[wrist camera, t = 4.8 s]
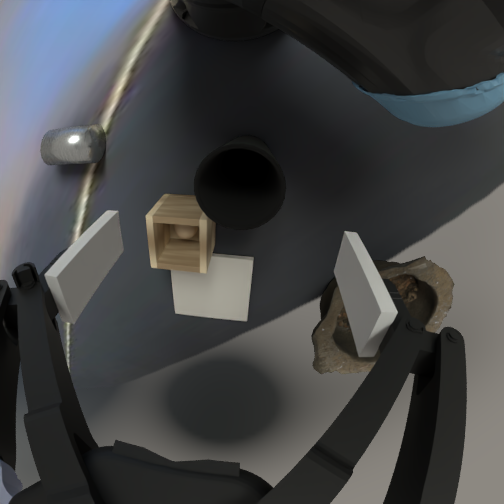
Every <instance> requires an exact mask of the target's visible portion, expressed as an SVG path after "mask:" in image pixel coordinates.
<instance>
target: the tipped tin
mask: <svg viewBox="0 0 504 504" xmlns="http://www.w3.org/2000/svg"><path fill="white" fill-rule="evenodd" d="M105 145H106V138H105V132H104V130H103V128H102V126H100V125H99V124H94V125H85V126H76V127H69V128H61V129H55V130H50V131H48V132H47V133H46V134H45V135H44V137H43V139H42V142H41V156H42V159H43V161H44V162H45V163H46V164H47V165H62V164H81V163H97V162H99V161H100V160H101V158H102V156H103V154H104V151H105Z"/></svg>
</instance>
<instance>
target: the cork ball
mask: <svg viewBox="0 0 504 504" xmlns="http://www.w3.org/2000/svg"><path fill="white" fill-rule="evenodd" d="M197 229H198V226H191V225H179V224H175V232H176V234H177V235H178V236H179V237H181V238H183V239H189V238H191V237H193V236H194V235H195V234H196V232H197Z"/></svg>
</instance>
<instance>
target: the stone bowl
mask: <svg viewBox="0 0 504 504" xmlns="http://www.w3.org/2000/svg"><path fill="white" fill-rule="evenodd" d="M373 263H374V265H375V267H376V269H377V271H378V273H379V275H380V277H381V278H383V279H389V280H390V281H391V282H392V283H393V284H394V285H395V286H396V288H397V290H398V292H399V294H400V295H401V297H402V299H403V301H404V303H405V305H406V307H407V309H408V311H409V313H410V315H411V317H414V318H416V319H418V320H420V321H421V322H422V323H423V324H424V325H425V328H426V331H429V332H433V333H435V332H436V331H437V329H438V328H439V327H440V325H441V323H442V322H441V321H442V320H443V318H444V317H446V315H447V313H448V311H449V309H450V308H451V304H452V299H453V295H452V289H453V286H454V283H453V281H452V279H451V277H450V276H449V274H448V273H447V271H446V270H445V269H443V268H440V267H439V266H437V265H436V264H435V263H432V262H431V260H429V261H428V260H426V258H425V256H424V257H421V258H418V259H415V260H412V261H409V262H406V263H402V264H400V263H397V262H387V261H380V260H373ZM320 312H321V321H320V322H319V323H318V324H317V326H316V327H315V328H314V330H313V333H312V342H313V345H314V352H315V358H314V361H313V367H314V369H315V370H316V371H318V372H319V373H320V374H323V373H325V372H330V373H332V372H334V371H338V372H339V373H341V374H348V373H359V372H367V371H371V369H372V368H373V366H374V365H375V363H376V361H377V360H378V358H379V357H380V355H381V353H380V350H379V349H378V350H377V352H376V354H375V356H374V357H359V356H358V352H357V348H356V345H355V341H354V337H353V334H352V330H351V327H350V323H349V320H348V316H347V313H346V309H345V306H344V303H343V299H342V296H341V293H340V289H339V286H338V283H337V280H336V277H335V278H334V279H333V280H332V281H331V282H330V283H329V285H328V287H327V289H326V290H325V291H324V293H323V295H322V297H321V301H320Z"/></svg>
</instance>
